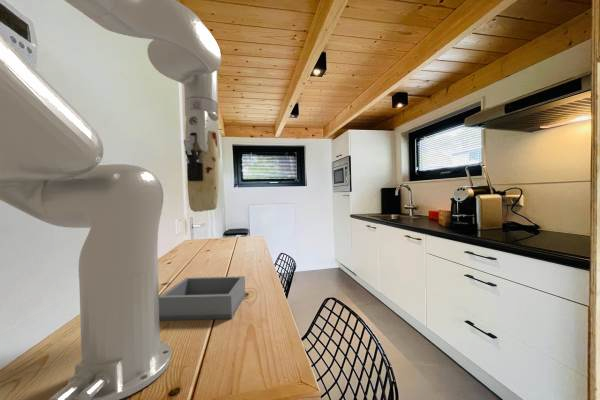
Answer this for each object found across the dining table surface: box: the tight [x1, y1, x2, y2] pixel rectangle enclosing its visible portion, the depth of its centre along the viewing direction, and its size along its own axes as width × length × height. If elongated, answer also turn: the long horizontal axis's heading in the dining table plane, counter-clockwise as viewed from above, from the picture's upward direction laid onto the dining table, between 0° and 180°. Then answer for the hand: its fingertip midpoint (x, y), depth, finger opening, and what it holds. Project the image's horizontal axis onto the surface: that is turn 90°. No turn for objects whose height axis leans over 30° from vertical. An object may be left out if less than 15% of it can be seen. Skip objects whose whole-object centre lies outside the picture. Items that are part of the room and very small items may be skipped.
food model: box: [186, 130, 220, 213], centre depth 58 cm, size 10×7×20 cm
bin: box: [159, 275, 246, 321], centre depth 58 cm, size 13×16×5 cm
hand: (203, 182), depth 58 cm, fingers closed on food model, 8 cm apart
